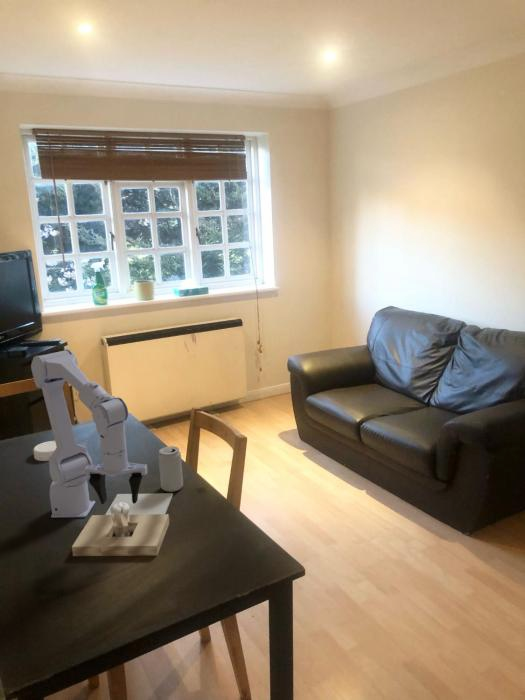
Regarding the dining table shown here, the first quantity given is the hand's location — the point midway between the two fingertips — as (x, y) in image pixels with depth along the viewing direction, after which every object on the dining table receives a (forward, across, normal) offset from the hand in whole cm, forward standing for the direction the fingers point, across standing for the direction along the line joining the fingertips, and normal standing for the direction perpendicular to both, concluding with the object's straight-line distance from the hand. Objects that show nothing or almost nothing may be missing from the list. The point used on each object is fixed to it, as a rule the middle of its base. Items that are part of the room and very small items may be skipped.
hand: (119, 501), depth 132 cm
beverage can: (+10, +7, +26) cm, 29 cm away
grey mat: (+10, 0, +16) cm, 19 cm away
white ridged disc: (+10, -40, +51) cm, 66 cm away
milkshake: (+10, 0, 0) cm, 10 cm away
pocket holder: (+10, 0, 0) cm, 10 cm away
